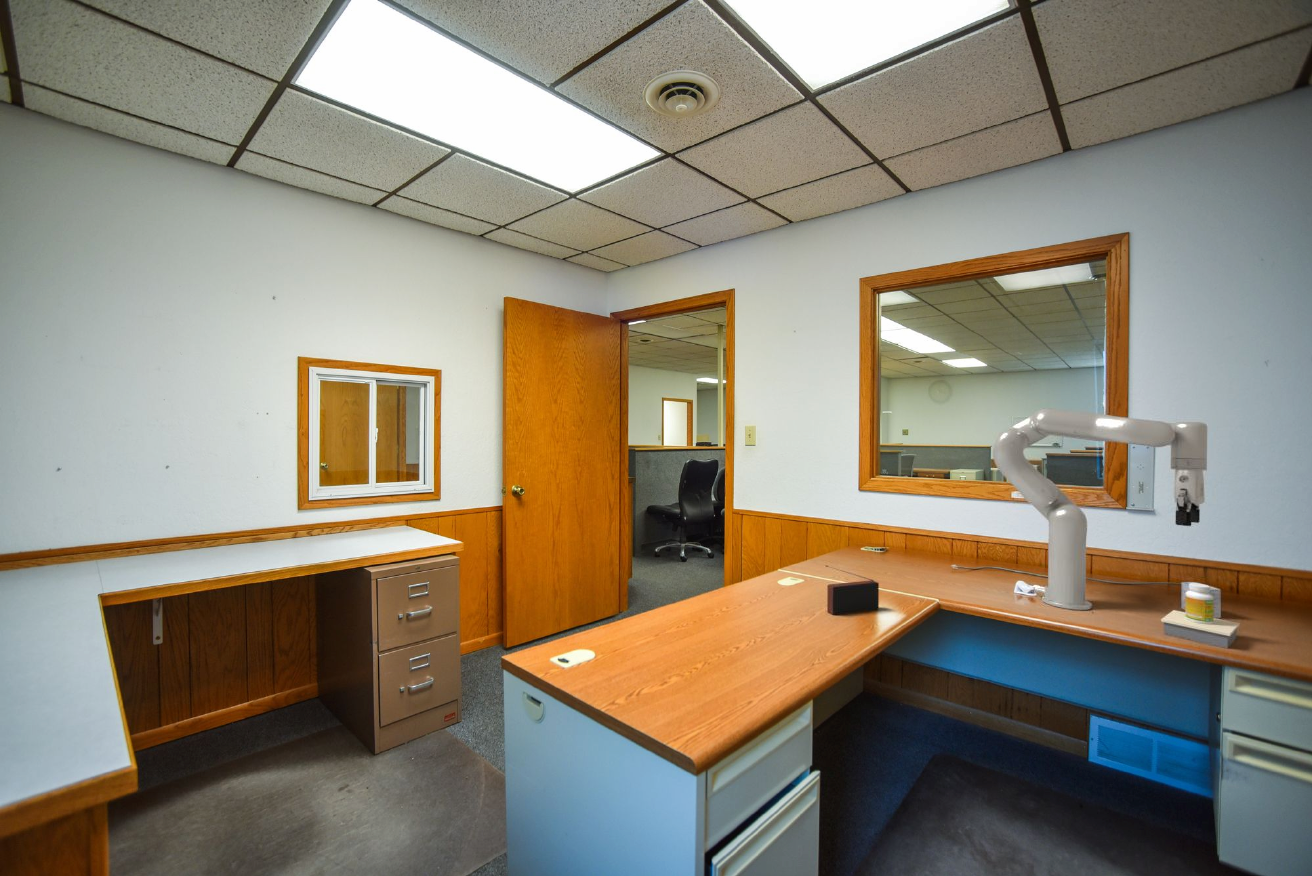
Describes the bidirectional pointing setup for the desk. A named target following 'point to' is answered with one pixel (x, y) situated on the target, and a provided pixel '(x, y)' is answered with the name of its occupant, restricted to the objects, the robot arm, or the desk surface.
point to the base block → (1200, 629)
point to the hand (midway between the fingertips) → (1187, 523)
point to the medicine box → (1213, 591)
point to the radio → (852, 596)
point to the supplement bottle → (1199, 604)
